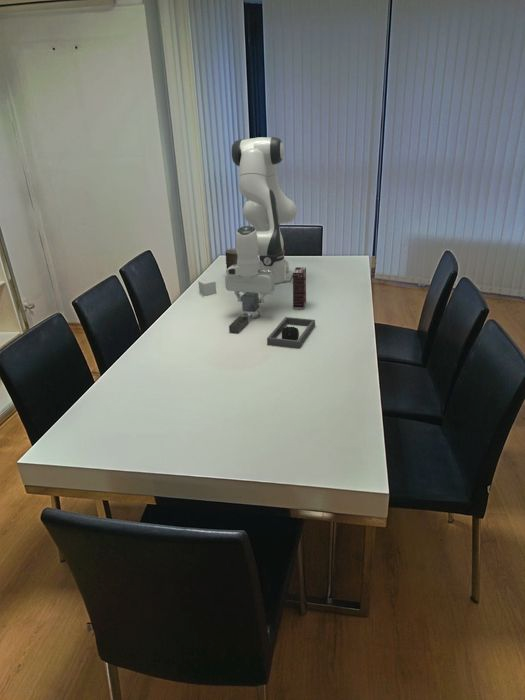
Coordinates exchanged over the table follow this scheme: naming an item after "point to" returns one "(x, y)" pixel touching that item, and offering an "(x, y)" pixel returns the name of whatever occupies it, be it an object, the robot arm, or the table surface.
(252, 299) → the blue gray block
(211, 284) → the light grey cube
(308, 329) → the gray rectangular frame
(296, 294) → the supplement box
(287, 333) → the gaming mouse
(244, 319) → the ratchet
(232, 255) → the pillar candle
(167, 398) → the table surface
